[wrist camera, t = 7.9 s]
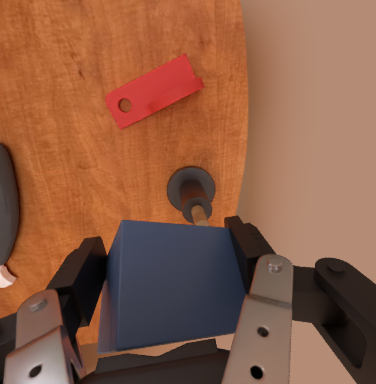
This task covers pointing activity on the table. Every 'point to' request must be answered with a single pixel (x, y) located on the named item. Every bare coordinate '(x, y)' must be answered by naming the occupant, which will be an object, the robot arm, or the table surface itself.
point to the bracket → (154, 91)
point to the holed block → (168, 286)
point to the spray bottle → (7, 215)
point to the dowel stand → (192, 194)
